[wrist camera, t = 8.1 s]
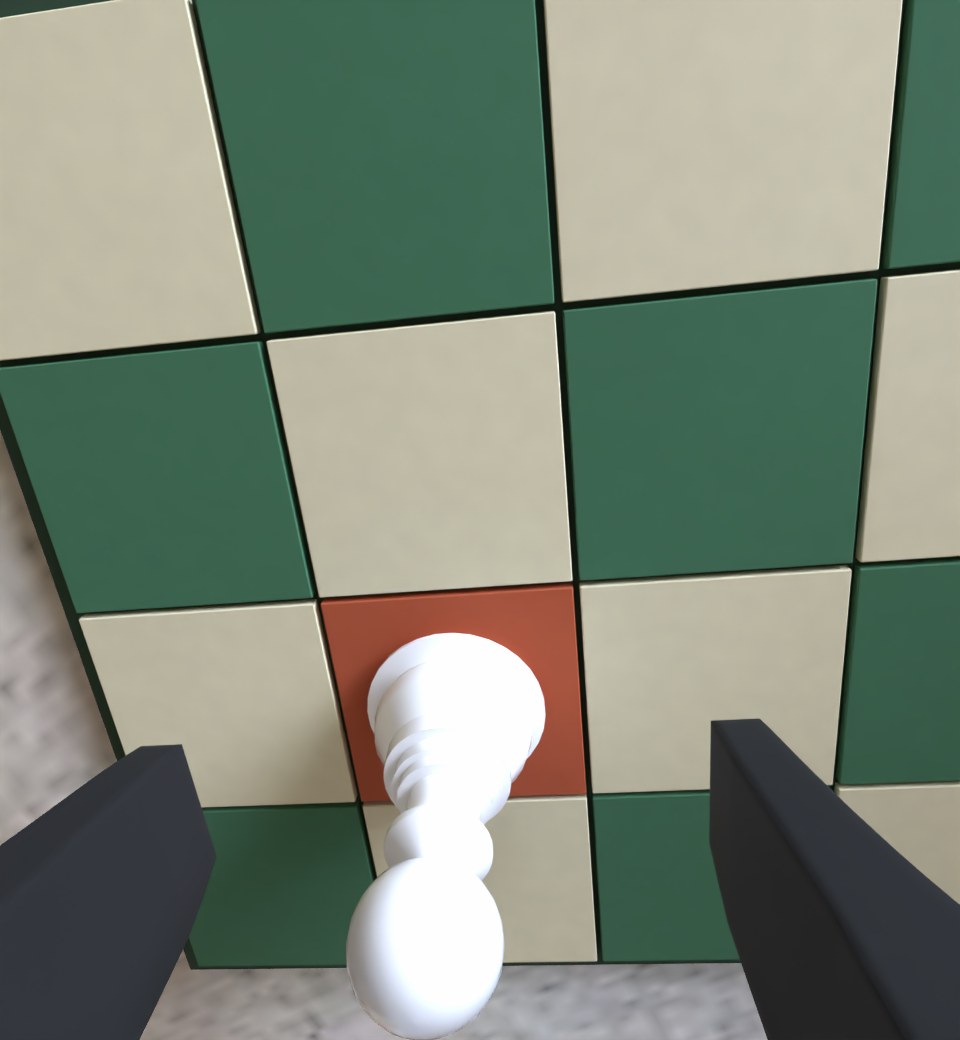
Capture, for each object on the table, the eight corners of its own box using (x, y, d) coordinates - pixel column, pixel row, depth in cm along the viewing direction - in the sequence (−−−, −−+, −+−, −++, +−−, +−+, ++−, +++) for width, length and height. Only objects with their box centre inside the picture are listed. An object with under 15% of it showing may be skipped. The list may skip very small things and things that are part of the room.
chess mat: (1054, 949, 13) (1068, 969, 13) (195, 960, 15) (185, 979, 14) (1349, -219, 7) (1392, -243, 7) (-135, 15, 9) (-164, 6, 9)
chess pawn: (525, 613, 11) (523, 890, 6) (559, 761, 12) (578, 1097, 7) (348, 643, 11) (224, 924, 7) (395, 783, 12) (314, 1115, 8)
